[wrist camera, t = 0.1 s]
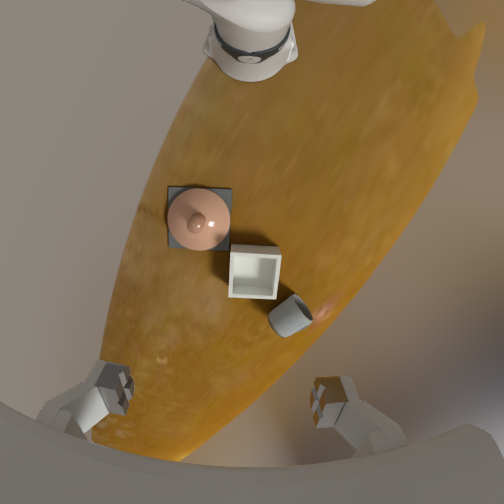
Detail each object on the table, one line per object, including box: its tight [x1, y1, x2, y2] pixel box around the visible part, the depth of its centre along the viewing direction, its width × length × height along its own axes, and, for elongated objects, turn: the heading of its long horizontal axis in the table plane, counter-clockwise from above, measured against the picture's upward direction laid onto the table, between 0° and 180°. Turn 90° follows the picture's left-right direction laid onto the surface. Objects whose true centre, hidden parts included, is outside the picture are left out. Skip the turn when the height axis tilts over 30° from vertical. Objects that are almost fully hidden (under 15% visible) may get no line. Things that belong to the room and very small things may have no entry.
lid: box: [167, 188, 230, 250], centre depth 54 cm, size 13×13×5 cm
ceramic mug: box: [268, 294, 313, 338], centre depth 62 cm, size 11×8×8 cm
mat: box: [168, 187, 232, 251], centre depth 57 cm, size 13×13×1 cm
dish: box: [228, 244, 282, 299], centre depth 59 cm, size 10×10×5 cm
